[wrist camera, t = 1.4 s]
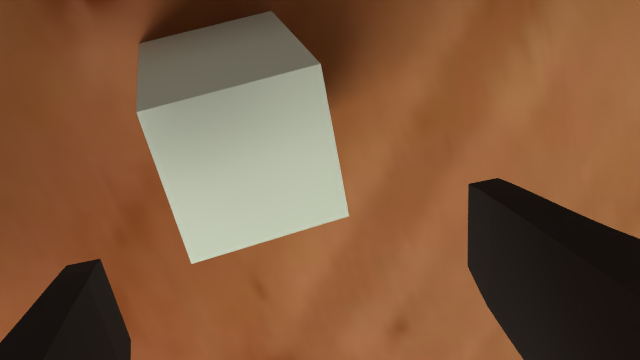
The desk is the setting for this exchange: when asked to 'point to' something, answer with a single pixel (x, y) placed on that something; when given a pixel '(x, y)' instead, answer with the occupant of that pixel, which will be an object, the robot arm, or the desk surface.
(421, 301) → the desk surface
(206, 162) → the sage green block
